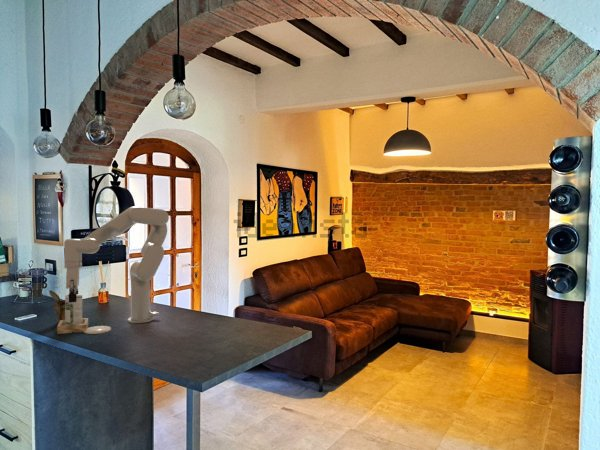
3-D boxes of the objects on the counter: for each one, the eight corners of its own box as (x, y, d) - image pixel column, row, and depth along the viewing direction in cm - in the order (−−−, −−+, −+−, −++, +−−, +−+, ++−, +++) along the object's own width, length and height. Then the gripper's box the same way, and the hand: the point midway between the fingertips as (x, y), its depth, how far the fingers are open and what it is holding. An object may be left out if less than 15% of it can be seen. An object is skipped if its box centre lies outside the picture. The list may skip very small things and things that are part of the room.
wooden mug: (44, 324, 219) (44, 289, 219) (70, 319, 231) (70, 285, 230) (54, 327, 215) (54, 291, 214) (80, 321, 226) (80, 287, 226)
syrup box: (64, 324, 211) (64, 295, 210) (76, 322, 216) (75, 293, 215) (71, 326, 208) (71, 296, 207) (83, 323, 213) (82, 294, 212)
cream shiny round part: (111, 326, 219) (111, 324, 218) (110, 332, 207) (110, 331, 207) (84, 328, 214) (84, 327, 214) (82, 335, 203) (82, 333, 203)
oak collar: (88, 324, 220) (88, 318, 220) (86, 331, 209) (86, 324, 209) (60, 327, 215) (60, 320, 215) (57, 333, 204) (57, 326, 204)
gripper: (66, 262, 218) (67, 297, 218) (62, 267, 201) (62, 304, 202) (83, 261, 220) (83, 296, 221) (80, 266, 204) (80, 303, 205)
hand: (73, 300), depth 212 cm, fingers closed on syrup box, 8 cm apart
